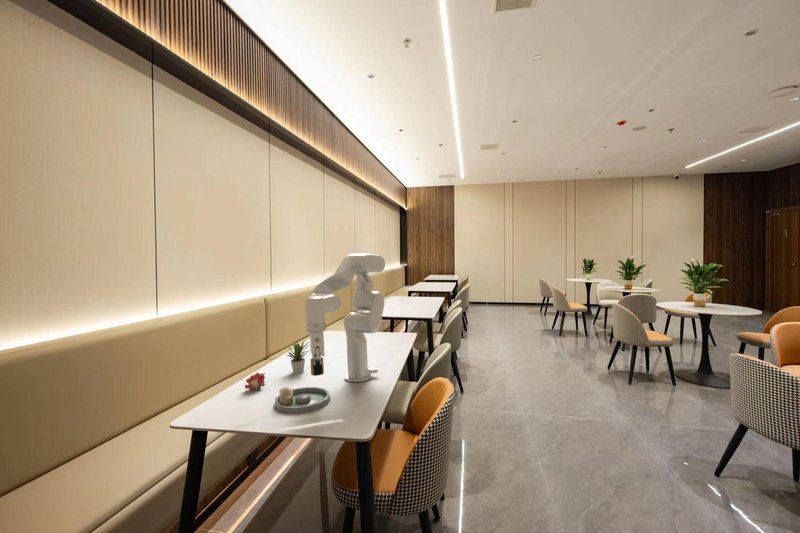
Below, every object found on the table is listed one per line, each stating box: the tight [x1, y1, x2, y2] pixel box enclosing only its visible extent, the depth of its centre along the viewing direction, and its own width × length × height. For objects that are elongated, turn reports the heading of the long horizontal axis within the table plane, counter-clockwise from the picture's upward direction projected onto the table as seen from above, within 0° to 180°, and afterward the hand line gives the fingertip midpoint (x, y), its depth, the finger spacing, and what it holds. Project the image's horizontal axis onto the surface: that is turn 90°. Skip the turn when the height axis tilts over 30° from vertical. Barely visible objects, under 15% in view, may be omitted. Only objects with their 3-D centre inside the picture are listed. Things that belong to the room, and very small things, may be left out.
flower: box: [244, 372, 267, 391], centre depth 159 cm, size 10×9×8 cm
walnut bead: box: [310, 356, 325, 377], centre depth 144 cm, size 5×5×6 cm
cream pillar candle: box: [278, 386, 294, 406], centre depth 141 cm, size 5×5×6 cm
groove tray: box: [274, 386, 331, 414], centre depth 143 cm, size 21×21×3 cm
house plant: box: [284, 340, 311, 374], centre depth 184 cm, size 14×14×16 cm
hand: (317, 371), depth 144 cm, fingers closed on walnut bead, 4 cm apart
